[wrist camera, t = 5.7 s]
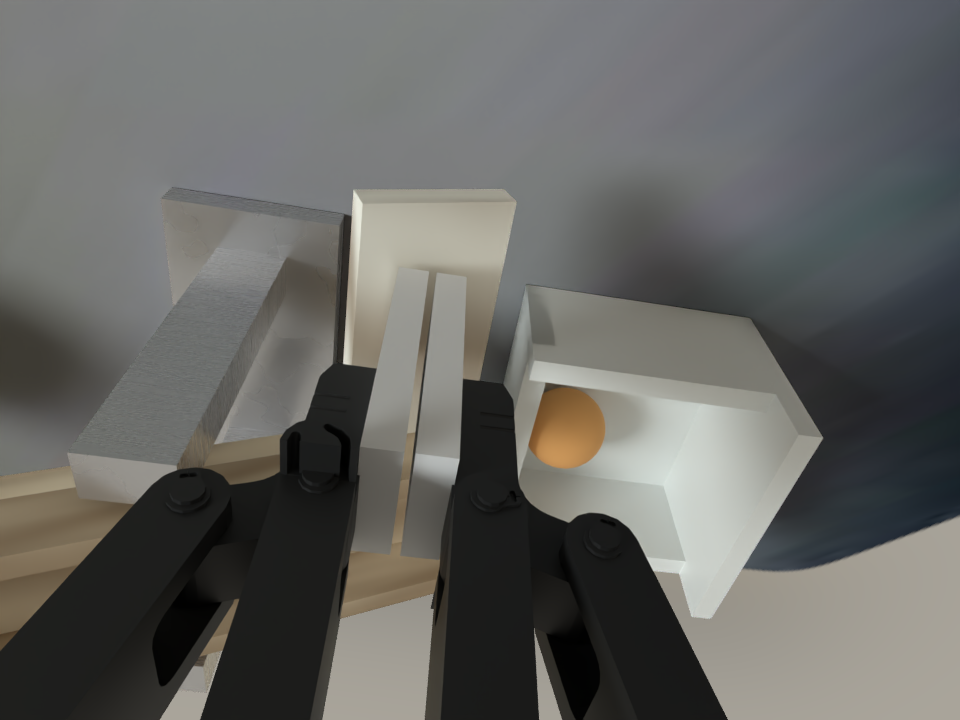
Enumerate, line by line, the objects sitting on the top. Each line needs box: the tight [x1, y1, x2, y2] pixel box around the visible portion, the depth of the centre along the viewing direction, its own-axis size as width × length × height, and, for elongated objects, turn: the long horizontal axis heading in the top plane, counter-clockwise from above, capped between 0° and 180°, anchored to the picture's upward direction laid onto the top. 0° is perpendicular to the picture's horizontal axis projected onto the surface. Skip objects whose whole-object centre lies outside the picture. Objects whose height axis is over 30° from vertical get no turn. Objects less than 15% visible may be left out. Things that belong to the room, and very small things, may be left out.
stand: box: [67, 187, 344, 693], centre depth 23 cm, size 13×6×12 cm, turn 170°
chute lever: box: [0, 189, 517, 656], centre depth 17 cm, size 14×18×4 cm
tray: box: [503, 284, 823, 619], centre depth 26 cm, size 10×9×7 cm
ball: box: [528, 388, 605, 469], centre depth 27 cm, size 3×3×3 cm
